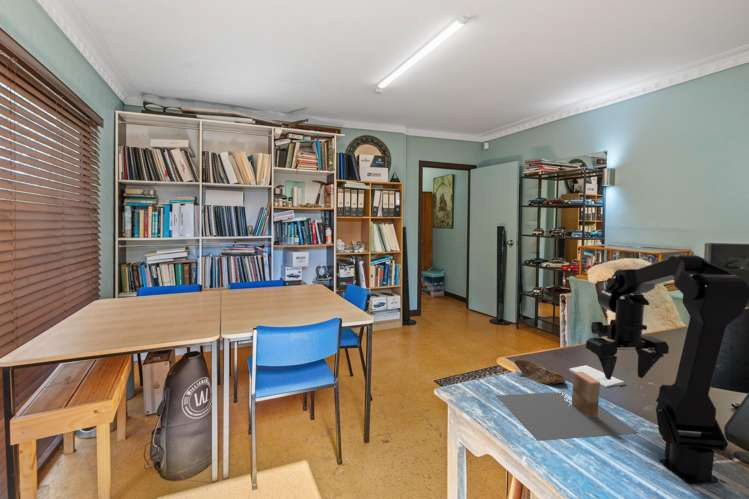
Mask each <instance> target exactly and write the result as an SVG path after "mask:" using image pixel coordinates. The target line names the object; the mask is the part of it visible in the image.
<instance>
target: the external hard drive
mask: <svg viewBox="0 0 749 499" xmlns="http://www.w3.org/2000/svg"><path fill="white" fill-rule="evenodd" d="M568 372H569V373H570V374H572V375H574V372H584V373H586V374H587V375H589V376H591V377H592V378H594V379H595V380H597V381H599V382H600V386H602V387H604V388H610V387H613V386H618V387H620V386H624V385H625V384H626V383H625V381H624V380H621V379H619V378H616V377H614V376H612V377H611V379H610V380H608V379H607V378H606V377H605V374H604V371H601V370H598V369H596V368H594V367H591V366H589V365H585V364H584V365H581V366H575V367H570V368H569V369H568Z"/></svg>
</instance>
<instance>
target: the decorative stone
mask: <svg viewBox="0 0 749 499" xmlns="http://www.w3.org/2000/svg"><path fill="white" fill-rule="evenodd" d="M514 364H515V365H516V367H517V368H518V370H520V372H521V374H522V375H523V376H524V377H525V378H527V379H529V380H531V379H532V381H533V380H534V382H536V383H539V384H545V385H552V384H559V383H561V384H565V383H566V379H565V378H564V377H563V376H562V375H561V374H559V373H556V372H554V371H553V370H549V369H547V368H545V367H543V366H541V365H539V364H537V363H534V362H532V361H530V360H527V359H524V358H523V359H522V358H516V359H515V361H514Z"/></svg>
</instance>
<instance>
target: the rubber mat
mask: <svg viewBox="0 0 749 499" xmlns="http://www.w3.org/2000/svg"><path fill="white" fill-rule="evenodd" d="M556 392H558V393H556ZM559 392H561V393H559ZM562 392H563V391H551V392H535V393H515V394H514V393H513V394H499V395H498V394H497V395H494V396H495V397H496V398H497V399H498V400H499V401H500V403H502V404H503V405H504V407H506V409H507V410H508V411H509V412H510V413H511V415H513V416H514V417H515V419H517V420H518V422H519V423H520V424H522V426H523V427H524V428H525V429H526V430H527V432H529V433H530V434H531V435H532V437H533V438H534V439H535V440H536V441H538V442H540V441H551V440H563V439H577V438H578V439H579V438H591V437H593V438H594V437H606V436H620V435H622V436H623V435H633V434H634V435H635V434H639V431H637V430H635V429H634V428H633V427H631V426H629V424H627V423H625V422H624V421H623V420H621V419H620V418H618V417H617V416H616V415H614V414H613V413H611V412H610V411H608V410H607V409H605V408H604V407H603V406H601V405H600V404H598V416H597V417H594V418H588V417H586V416H585V415H584V414H583V413H581V412H580V411H579V410H577V409H576V408H575V407H574V406H572V405H571V404H570V403H569V402H567V401H565V400H566V399H565V398H564V396H565V394H564V393H563V394H564V395H562ZM561 395H562V396H561ZM564 399H565V400H564ZM568 401H569V400H568ZM569 404H570V406H568V405H569Z"/></svg>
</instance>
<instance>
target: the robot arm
mask: <svg viewBox="0 0 749 499" xmlns="http://www.w3.org/2000/svg"><path fill="white" fill-rule="evenodd" d="M669 281H673V285H674V287H676V289H677V290H679V292H680V293H681V294H682V295H683V296H682V304H683V305H684V308H685V309H686V312H687V313H688V315H689V321H688V326H687V330H686V334H685V339H684V342H683V347H682V351H681V355H680V360H679V364H678V368H677V372H676V377H675V381H674V383H673V384H661V386H659V389H658V396H657V399H656V400H655V402H657V405H656V407H655V408H656V409H655V412H656V420H657V426H658V427H657V428H658V432H659V435H661V436H662V437H661V439H662V440H663V442H665V446H664V447H665V448H664V458H660V459H658V462H659V463H660V464H661V465H662V466H663V467H665V468H666V469H667V470H669V471H670V472H671V471H672V472H671V473H673V474H674V475H675V476H677V477H679V478H680V479H681V480H682V481H684V482H685V483H687V484H688V485H691V486H692V485H693V486H695V485H704V484H714V483H719V481H720V479H719V478H718V477H717V476H715V475H714V474H713V470H714V460H715V459H714V458H715V457H714V456H715V451H720V452H725V450H726V449H727V447H728V445H729V443H728V440H727V438H726V437H725V435H724V433H723V430H722V428H721V427H720V424H719V422H718V421H717V418H716V417H717V409H716V406H715V405H714V403H713V401H712V399H711V397H710V395H709V394H710V391H711V386H712V382H713V379H714V375H715V372H716V371H715V370H716V367H717V364H718V359H719V356H720V352H721V348H722V345H723V340H724V338H725V337H724V336H725V334H726V330H727V326H729V325H730V324H731V323H732V322H733V321H735V320H736V319H737V318H738V317H740V316H742V314H743V313H744V311H745V309H746V307H747V305H748V303H749V285H748V284H747V283H746V281H745V280H744V279H743V278H742V277H741V276H739V275H737V274H736V275H735V274H734V273H732V271H730V270H728V269H725V268H723V267H721V266H719V265H715V264H713V263H711V262H709V261H707V260H706V259H705V258H703V257H701V256H699V255H697V254H695V255H694V254H690V255H689V254H675V255H672V256H671V255H670V256H669V257H668V258H666V259H663V260H659V261H658V262H653V263H651V264H649V265H646V266H643V267H640V268H621V269H620V268H619V269H616V271H614V274H612V276H611V278H610V280H609V281H608V283H607V284H606V285H605V289H603V290H602V291H600V293H599V294H598V296H597V303H598V305H599V306H600V307H601V308H603V309H606V310H608V311H610V312H612V313H614V314H615V315H614V316H615V317H614V319H610V320H609V324H603V322H602V321H592V322H591V327H590V329H591V333H592V334H593V335H597V337H591V338H590V337H589V338H588V339H586V342H585V349H587V350H589V351H590V352H591V353H593V354H595V355H596V356H597V358H598V360H599V362H600V364H601V368H602V372H603V373H604V374H605V377H606V378H607V379H608V380H610V379H611V377H613V374H614V370H615V367H616V364H617V360H618V357H617V356H616V354H617V353H618V350H619V351H620V350H635V351H636V352H635V353H636V354H637V376H638V378H640V379H643V378H644V377H645V376H646V375H647V373H648V372H649V371H650V370H651V369H652V368H653V366H654V365H655V364H656V363H657V362H658V361H659V360H660V359H662V358H664V357H665V355H668V354H669V350H670V346H669V345H668V342H666V341H665V340H663V339H659V338H656V337H654V336H652V335H646V336H644V335H643V331H647V329H648V326H647V325H645V324H644V323H643V322H644V311H645V306H650V302H649V300H648V299H647V298H646V297H645V296H644V294H646V293H648V292H650V291H652V290H654V289H655V288H656V285H658V284H662V283H666V282H669ZM602 337H606V339H605V338H602ZM607 339H608V340H607ZM609 340H610V341H609Z"/></svg>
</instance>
